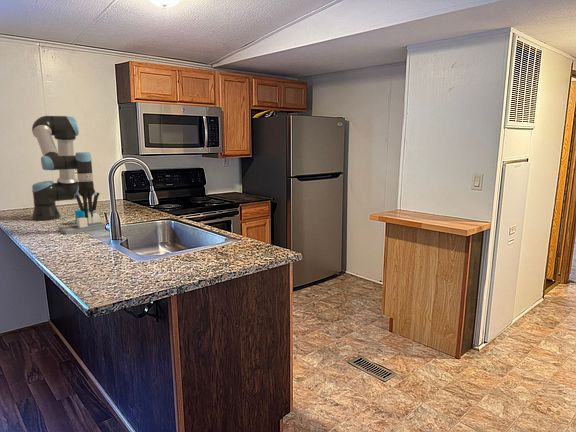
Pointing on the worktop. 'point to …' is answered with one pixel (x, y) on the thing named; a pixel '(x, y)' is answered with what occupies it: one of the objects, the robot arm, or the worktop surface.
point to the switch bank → (75, 229)
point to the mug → (80, 214)
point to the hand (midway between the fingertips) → (89, 223)
